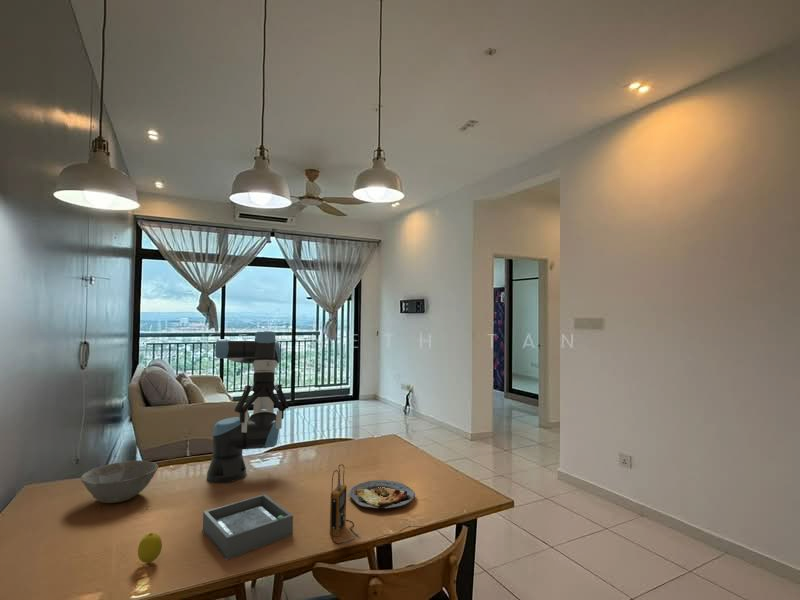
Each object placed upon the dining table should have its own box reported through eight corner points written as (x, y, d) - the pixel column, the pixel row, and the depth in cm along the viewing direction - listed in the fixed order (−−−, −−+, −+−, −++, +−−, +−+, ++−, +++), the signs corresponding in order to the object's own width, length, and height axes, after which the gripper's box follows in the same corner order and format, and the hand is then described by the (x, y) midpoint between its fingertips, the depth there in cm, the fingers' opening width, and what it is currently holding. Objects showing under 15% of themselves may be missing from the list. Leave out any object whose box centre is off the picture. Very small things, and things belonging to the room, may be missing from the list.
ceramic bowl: (164, 498, 149) (166, 470, 149) (86, 520, 132) (88, 489, 132) (146, 481, 164) (147, 455, 164) (73, 498, 147) (75, 470, 147)
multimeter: (356, 547, 120) (358, 478, 121) (324, 543, 122) (326, 474, 123) (370, 523, 134) (371, 461, 135) (341, 519, 136) (343, 458, 137)
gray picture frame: (213, 523, 127) (214, 519, 127) (260, 508, 137) (260, 505, 137) (232, 543, 116) (232, 539, 116) (281, 526, 126) (281, 522, 126)
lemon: (144, 557, 112) (145, 528, 113) (165, 557, 113) (166, 527, 113) (132, 570, 107) (134, 538, 107) (154, 569, 107) (156, 538, 108)
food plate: (426, 504, 148) (426, 494, 148) (368, 520, 136) (368, 509, 137) (392, 482, 170) (392, 473, 170) (340, 493, 158) (340, 484, 158)
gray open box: (202, 531, 127) (203, 509, 127) (264, 511, 140) (264, 492, 141) (226, 560, 112) (227, 536, 112) (292, 535, 125) (293, 513, 126)
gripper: (235, 371, 143) (232, 434, 139) (298, 371, 161) (297, 427, 156) (227, 372, 148) (223, 433, 144) (288, 372, 166) (287, 426, 162)
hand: (261, 430), depth 150 cm, fingers open, 13 cm apart
